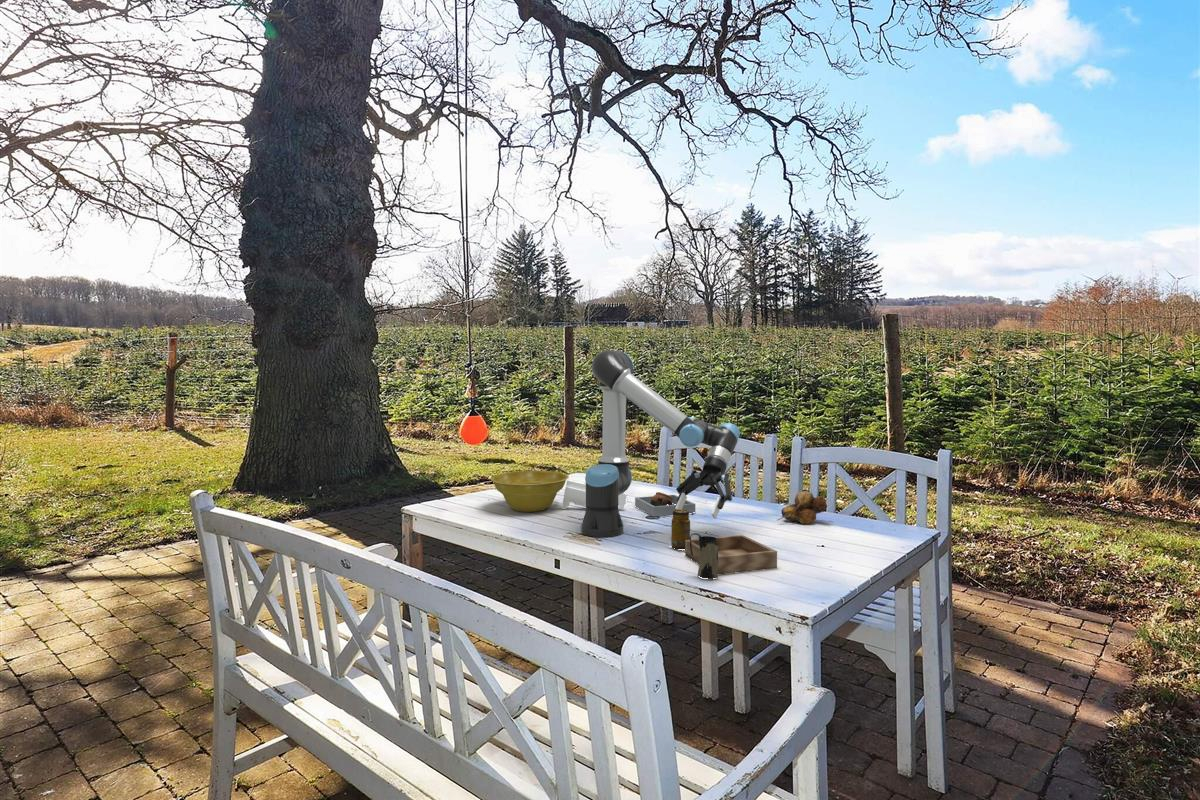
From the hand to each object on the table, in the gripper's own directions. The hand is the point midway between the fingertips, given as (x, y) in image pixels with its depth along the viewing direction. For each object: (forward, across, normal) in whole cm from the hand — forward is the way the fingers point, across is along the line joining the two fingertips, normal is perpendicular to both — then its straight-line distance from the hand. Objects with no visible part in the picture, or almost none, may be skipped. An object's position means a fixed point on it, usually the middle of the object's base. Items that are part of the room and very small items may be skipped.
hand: (695, 513), depth 223 cm
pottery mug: (-18, +38, -34) cm, 54 cm away
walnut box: (+15, -18, 0) cm, 23 cm away
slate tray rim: (-19, +36, -34) cm, 53 cm away
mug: (+27, -19, +12) cm, 35 cm away
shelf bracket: (-7, +60, -23) cm, 65 cm away
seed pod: (-29, -16, -45) cm, 55 cm away
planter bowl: (+2, +83, -13) cm, 84 cm away
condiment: (+12, +2, -3) cm, 12 cm away
